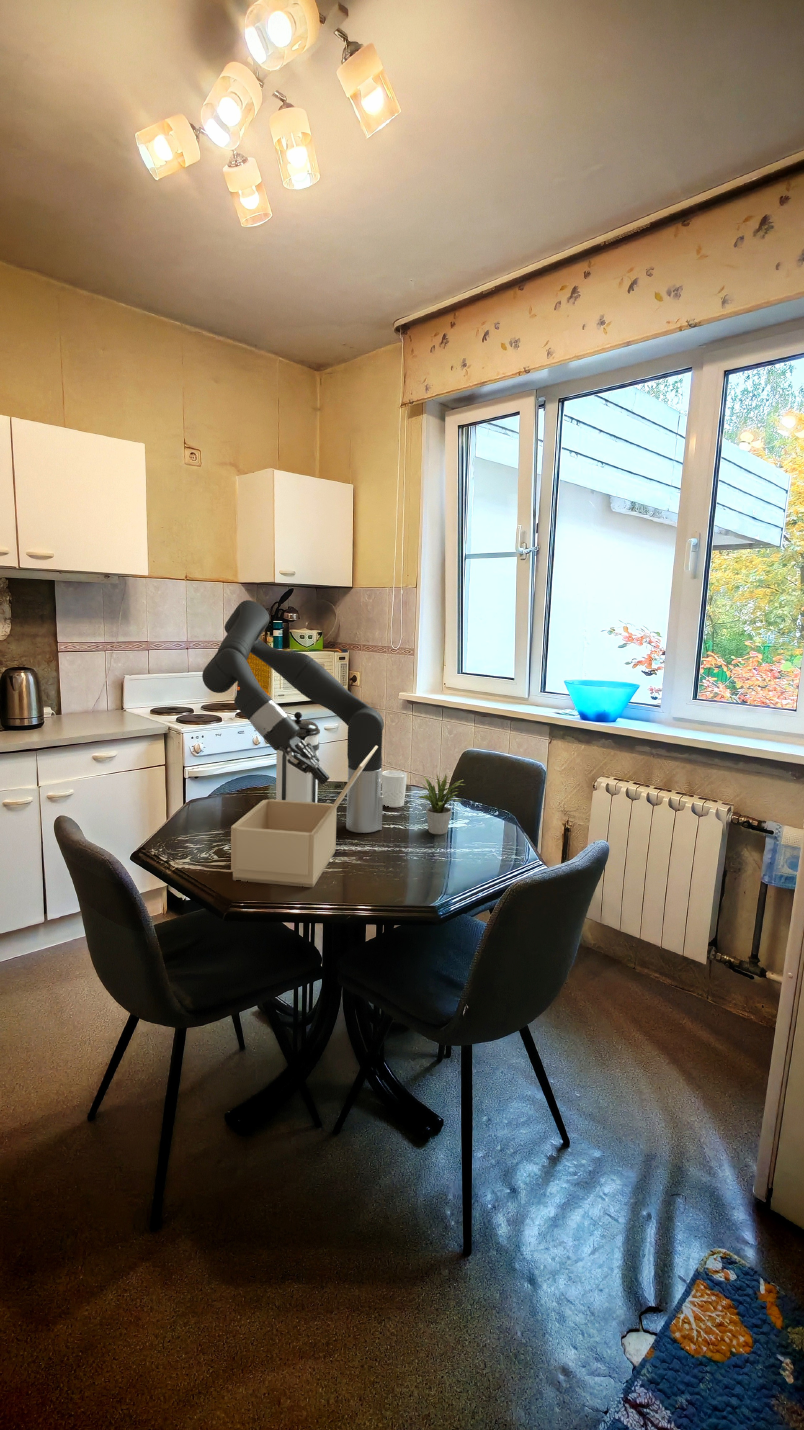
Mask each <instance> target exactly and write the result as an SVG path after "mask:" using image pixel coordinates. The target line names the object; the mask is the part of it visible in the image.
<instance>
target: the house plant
mask: <svg viewBox="0 0 804 1430" xmlns="http://www.w3.org/2000/svg"><path fill="white" fill-rule="evenodd" d="M435 775H436V780H437V781H436V783H437V791H436V787H435V785H434V784H432V782H431V781H430V780H429V779H428V778H427V777H426V776H424V775H422V776H423V778H424V780H425V782H426V784H427V786H426V785H425V784H424V783H423V782H420V784H421V785H422V786H423V787H424V788H425V790H427V792H428V794H424V795H421V796H417V798H418V799H425V800H426V801H428V802H429V804H430V806H427V807H426V808H425V811H426V819H427V820H426V821H427V828H428V832H429V833H430V834H432V835H445V834H447V833H448V828H449V825H450V820H451V815H452V809H451V808H450V807H449V806H446V805H447V803H449V802H450V801H451V802H452V801H455V802H460V801H462V800H463V799H461V798H458V799H457V798H456V796H455V794H458V793H459V792H454V791H458V789H455V788H456V787H458V786H459V785H460V786H464V785H465V786H466V784H465V783H461V782H463V781H465V779H461V780H459V781H456V782H454V784H452V785H450V787H447V784H448V783H447V780H448V775H447V773H445V775H444V777H443V779H442V781H440V778H439V776H438V774H437V773H436V774H435ZM445 791H446V792H445ZM452 792H453V793H452ZM437 793H438V794H437ZM452 804H453V802H452V803H450V805H452Z"/></svg>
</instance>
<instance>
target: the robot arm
mask: <svg viewBox="0 0 804 1430" xmlns="http://www.w3.org/2000/svg"><path fill="white" fill-rule="evenodd" d="M269 622H270V615H269V612H268V611H267V609H266V608H265V607H263V606H262V605H261V604H259V603H258V602H256V601H255V600H249V599H245V600H243V601H241V602H240V603H238V605H237V607H236V608H235V609H234V611H232V614H231V615H230V616H229V618H228V619H227V621H226V622H225V624H224V630H225V633H226V635H225V637H224V639H222V641H221V644H220V645H219V647H218V648H217V651H216V652H215V654H214V656H213V657H212V658H211V659H210V661H209V662H208V663H207V664H206V666H205V667H204V669H203V671H202V675H201V676H202V677H201V678H202V681H203V684H204V686H205V687H206V688H207V689H208V690H210V692H212V693H216V694H222V693H226V692H227V691H229V690H230V689H231V688H232V687H233V686H234V685H235V684H236V683H238V686H239V690H238V693H237V694H236V696H235V697H234V700H233V704H234V705H235V707H236V708H237V709H238V710H239V711H240V713H241V714H242V715H243V716H244V717H245V718H246V719H247V720H248V721H249V724H251V725H252V727H253V728H254V730H255V731H256V732H257V733H258V734H259V735H260V736H261V737H262V738H263V739H264V740H265V742H266V743H267V744H268V745H269V747H271V748H272V749H273V750H274V751H276V752H277V750H279V749H280V748H283V750H284V751H285V753H286V754H287V756H288V757H289V759H288V760H287V761H288V763H289V764H291V765H292V766H294V767H296V768H297V769H299V770H301V771H302V772H304V773H307V772H308V773H309V774H310V773H311V774H312V775H313V776H314V777H315V778H316V779H317V781H318V783H319V784H320V785H321V786H322V785H324V784H326V783H327V782H328V781H329V779H330V777H331V776H329V774H328V773H327V772H326V771H325V770H324V769H323V767H321V766H320V762H321V761H320V759H319V755H318V756H317V754H316V753H315V751H314V749H313V747H312V745H311V744H310V743H307V744H306V743H305V742H304V741H303V740H301V739H300V738H299V737H297V735H296V734H297V733H298V732H299V731H300V728H299V727H298V726H297V724H296V723H295V722H294V721H293V719H292V718H291V717H290V716H289V714H288V713H287V712H285V710H284V709H283V708H282V707H281V705H279V704H278V703H277V702H276V701H274V700H273V699H272V697H270V696H269V694H268V693H267V692H266V691H265V690H264V689H263V688H262V687H261V685H260V683H259V681H258V680H257V678H256V677H255V675H254V673H253V671H252V669H251V666H250V665H249V663H248V661H247V660H249V659H248V658H249V656H250V653H251V654H252V655H253V656H255V657H256V658H258V659H259V660H260V661H262V662H263V663H264V664H266V665H267V666H268V667H270V668H271V669H272V670H273V671H274V672H276V673H277V674H278V675H279V676H280V677H281V678H283V679H284V681H286V682H287V683H288V684H289V685H291V686H292V687H293V688H294V689H296V690H297V691H298V692H299V693H300V694H301V695H303V696H304V697H306V698H307V699H309V700H310V701H312V702H314V703H316V704H318V705H319V706H322V707H323V708H325V709H327V710H329V711H331V713H334V715H336V716H337V717H338V718H339V719H340V720H341V721H342V722H343V723H345V724H346V726H347V745H346V746H347V747H346V748H347V750H346V751H347V754H346V755H347V783H348V782H349V780H350V779H351V777H352V776H353V774H354V773H355V771H356V770H357V768H358V767H359V765H360V764H361V763H362V762H363V761H364V759H365V758H366V757H367V756H368V755H369V753H370V752H371V751H372V750H373V748H374V747H375V746H378V748H377V749H376V751H375V752H374V754H373V755H372V757H371V758H370V760H369V761H368V762H367V764H366V765H365V767H364V768H363V770H362V771H361V773H360V774H359V776H358V777H357V779H356V780H355V782H354V783H353V785H352V786H351V788H350V789H349V791H348V792H347V794H346V819H345V822H346V825H345V827H346V829H347V830H348V831H349V832H353V833H359V834H362V833H363V834H367V833H374V832H377V831H381V830H382V829H383V828H382V827H383V806H384V805H383V796H382V772H383V771H382V770H383V768H382V766H383V754H382V751H383V747H382V746H383V730H384V726H385V724H384V719H383V716H382V715H381V713H380V712H379V711H378V710H376V709H374V708H373V707H371V706H370V705H368V704H367V703H366V702H364V701H362V700H360V699H359V698H358V697H357V696H356V695H354V694H353V693H352V692H350V691H349V690H348V689H346V687H345V686H344V685H343V684H342V683H340V682H339V680H337V678H335V676H334V675H332V674H331V673H330V672H329V671H328V670H327V669H326V668H325V667H323V666H322V665H321V664H320V663H319V662H318V661H316V660H315V659H314V658H313V657H311V655H309V654H306V653H303V652H297V651H293V650H292V651H291V650H284V649H279V648H275V647H272V646H271V645H269V644H267V643H265V642H264V641H263V640H261V639H260V637H261V635H262V634H263V632H264V631H265V630H266V629H267V627H268V625H269ZM304 758H305V759H304Z"/></svg>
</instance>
